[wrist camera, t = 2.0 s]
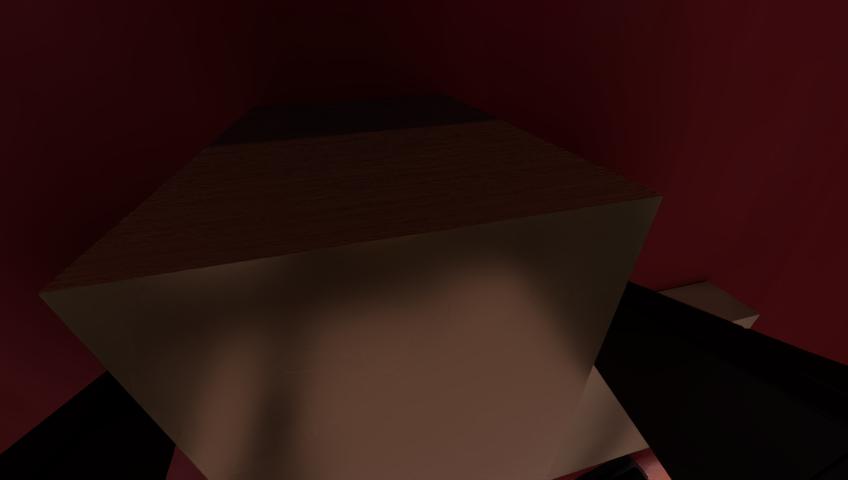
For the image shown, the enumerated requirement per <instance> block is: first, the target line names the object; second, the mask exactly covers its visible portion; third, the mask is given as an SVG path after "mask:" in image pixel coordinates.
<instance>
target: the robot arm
mask: <svg viewBox="0 0 848 480" xmlns="http://www.w3.org/2000/svg"><path fill="white" fill-rule="evenodd" d="M594 366H595V368H596V369H597V371H598V372H599V374H600V375H601V377H602V378H603V380H604V381H605V383H606V384H607V385H608V387H609V388H610V390H611V391H612V393H613V394H614V396H615V397H616V399H617V400H618V402H619V403H620V405H621V406H622V408H623V409H624V410H625V412H626V413H627V415H628V416H629V418H630V419H631V421H632V422H633V424H634V425H635V427H636V428H637V430H638V431H639V433H640V434H641V436H642V437H643V438H644V440H645V441H646V443H647V444H648V446H649V447H650V449H651V450H652V452H653V453H654V455H655V456H656V458H657V459H658V461H659V462H660V463H661V465H662V466H663V468H664V469H665V471H666V472H667V474H668V475H669V477H670V478H671V480H848V366H847V365H844V364H841V363H839V362H836V361H833V360H830V359H827V358H825V357H822V356H819V355H816V354H814V353H811V352H808V351H805V350H803V349H800V348H797V347H795V346H792V345H790V344H787V343H784V342H782V341H779V340H777V339H774V338H771V337H769V336H766V335H764V334H761V333H759V332H756V331H754V330H751V329H749V328H744V327H743V326H741V325H738V324H736V323H733V322H731V321H728V320H726V319H723V318H721V317H718V316H716V315H713V314H711V313H708V312H706V311H703V310H700V309H698V308H695V307H693V306H690V305H688V304H685V303H683V302H680V301H678V300H675V299H673V298H670V297H668V296H665V295H663V294H660V293H657V292H655V291H652V290H650V289H647V288H645V287H642V286H640V285H637V284H635V283H632V282H630V281H628V282H627V285H626V287H625V290H624V292H623V295H622V297H621V299H620V302H619V304H618V307H617V309H616V312H615V314H614V316H613V319H612V321H611V324H610V326H609V329H608V331H607V334H606V336H605V338H604V341H603V343H602V346H601V348H600V351H599V353H598V355H597V358H596V360H595V363H594ZM175 446H176V444H175V443H174V442H173V441H172V439H171V438H170V437H169V436H168V435H167V434H166V433H165V432H164V431H163V430H162V429H161V428H160V426H159V425H158V424H157V423H156V422H155V421H154V420H153V419H152V418H151V417H150V416H149V414H148V413H147V412H146V411H145V410H144V409H143V408H142V407H141V406H140V405H139V404H138V403H137V401H136V400H135V399H134V398H133V397H132V396H131V395H130V394H129V393H128V392H127V391H126V389H125V388H124V387H123V386H122V385H121V384H120V383H119V382H118V381H117V380H116V379H115V378H114V376H113V375H112V374H111V373H110V372H109V371H108V370H107V371H106V372H105V373H103V374H102V375H101V376H100V377H98V378H97V379H96V380H94V381H93V382H92V383H91V384H89V385H88V386H87V387H86V388H84V389H83V390H82V391H80V392H79V393H78V394H77V395H75V396H74V397H73V398H72V399H70V400H69V401H68V402H67V403H65V404H64V405H63V406H61V407H60V408H59V409H58V410H56V411H55V412H54V413H53V414H51V415H50V416H49V417H47V418H46V419H45V420H44V421H42V422H41V423H40V424H39V425H37V426H36V427H35V428H33V429H32V430H31V431H30V432H28V433H27V434H26V435H25V436H23V437H22V438H21V439H19V440H18V441H17V442H16V443H14V444H13V445H12V446H11V447H9V448H8V449H7V450H6V451H4V452H3V453H2V454H0V480H165V479H166V476H167V472H168V469H169V466H170V463H171V460H172V456H173V453H174V449H175Z"/></svg>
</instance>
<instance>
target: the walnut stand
mask: <svg viewBox="0 0 848 480" xmlns="http://www.w3.org/2000/svg"><path fill="white" fill-rule="evenodd" d="M657 293H660V294H663V295H665V296H668V297H670V298H673V299H675V300H678V301H680V302H683V303H685V304H688V305H690V306H693V307H695V308H698V309H700V310H703V311H706V312H708V313H711V314H713V315H716V316H718V317H721V318H723V319H726V320H728V321H731V322H733V323H736V324H738V325H741V326H743V327H744V328H750V327H751V325H752V324H753V323H754V321H755V320H756V319H757V318H758V316H759V315H760V314H758V313H757V312H755V311H754V310H752V309H751V308H749V307H747V306H746V305H744V304H743V303H741V302H740V301H738V300H736V299H735V298H733V297H732V296H730V295H729V294H727V293H726V292H724V291H722V290H721V289H719V288H718V287H716V286H715V285H713V284H711V283H710V282H708V281H705V282H700V283H696V284H691V285H687V286H682V287H678V288H673V289H669V290H664V291H660V292H657ZM648 447H649V446H648V444H647V443H646V441H645V440H644V438H643V437H642V436H641V434H640V433H639V431H638V430H637V428H636V427H635V425H634V424H633V422H632V421H631V419H630V418H629V416H628V415H627V413H626V412H625V410H624V409H623V408H622V406H621V405H620V403H619V402H618V400H617V399H616V397H615V396H614V394H613V393H612V391H611V390H610V388H609V387H608V385H607V384H606V383H605V381H604V380H603V378H602V377H601V375H600V374H599V372H598V371H597V369H596V368H595V366H594V365H593V368H592V370H591V373H590V375H589V377H588V380H587V382H586V385H585V387H584V390H583V392H582V394H581V397H580V399H579V402H578V404H577V407H576V409H575V411H574V414H573V416H572V419H571V421H570V424H569V426H568V429H567V431H566V433H565V436H564V438H563V441H562V443H561V446H560V448H559V450H558V453H557V455H556V458H555V460H554V463H553V465H552V468H551V470H550V472H549V475H548V477H547V480H551V479H554V478H557V477H560V476H563V475H566V474H569V473H572V472H576V471H579V470H582V469H585V468H588V467H591V466H594V465H597V464H600V463H603V462H606V461H609V460H612V459H615V458H618V457H621V456H624V455H627V454H630V453H633V452H636V451H639V450H642V449H645V448H648Z"/></svg>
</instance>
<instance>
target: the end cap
mask: <svg viewBox="0 0 848 480" xmlns="http://www.w3.org/2000/svg"><path fill="white" fill-rule="evenodd" d="M647 478H648V476H647V475H646V474H645V472H644V471H643V470H642V469H641V468H640V467H639V466H638V464H637V463H636V462H635V461H634V460H633V459H632V458H631V457H630V456H629V455H628V454H627V455H624V456H621V457H618V458H615V459H612V460H610V461H608V462H606V463H605V464H603V465H601V466H599V467H598V468H596V469H594V470H592V471H591V472H589V473H587V474H586V475H585V476H584V477H583V478H582V480H648V479H647Z"/></svg>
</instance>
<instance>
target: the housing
mask: <svg viewBox="0 0 848 480" xmlns="http://www.w3.org/2000/svg"><path fill="white" fill-rule="evenodd" d="M662 197H663V195H661V194H659V193H656V192H654V191H652V190H650V189H648V188H646V187H644V186H641V185H639V184H637V183H635V182H633V181H631V180H629V179H627V178H624V177H622V176H620V175H618V174H616V173H614V172H612V171H609V170H607V169H605V168H603V167H601V166H599V165H597V164H595V163H592V162H590V161H588V160H586V159H584V158H582V157H580V156H577V155H575V154H573V153H571V152H569V151H567V150H565V149H562V148H560V147H558V146H556V145H554V144H552V143H550V142H548V141H545V140H543V139H541V138H539V137H537V136H535V135H533V134H530V133H528V132H526V131H524V130H522V129H520V128H518V127H516V126H513V125H511V124H509V123H507V122H505V121H503V120H501V119H498V118H496V117H494V116H492V115H490V114H488V113H486V112H483V111H481V110H479V109H477V108H475V107H473V106H471V105H469V104H466V103H464V102H462V101H460V100H458V99H456V98H454V97H451V96H449V95H447V94H441V95H427V96H413V97H400V98H386V99H372V100H358V101H345V102H331V103H317V104H304V105H290V106H276V107H263V108H251V109H250V110H249V111H248V112H247V113H246V114H244V115H243V116H242V117H241V118H240V119H239V120H238V121H236V122H235V123H234V124H233V125H232V126H231V127H229V128H228V129H227V130H226V131H225V132H224V133H223V134H221V135H220V136H219V137H218V138H217V139H216V140H214V141H213V142H212V143H211V144H210V145H209V146H207V147H206V148H205V149H204V150H203V151H202V152H201V153H199V154H198V155H197V156H196V157H195V158H194V159H192V160H191V161H190V162H189V163H188V164H187V165H185V166H184V167H183V168H182V169H181V170H180V171H179V172H177V173H176V174H175V175H174V176H173V177H172V178H170V179H169V180H168V181H167V182H166V183H165V184H164V185H162V186H161V187H160V188H159V189H158V190H157V191H155V192H154V193H153V194H152V195H151V196H150V197H148V198H147V199H146V200H145V201H144V202H143V203H142V204H140V205H139V206H138V207H137V208H136V209H135V210H133V211H132V212H131V213H130V214H129V215H128V216H126V217H125V218H124V219H123V220H122V221H121V222H120V223H118V224H117V225H116V226H115V227H114V228H113V229H111V230H110V231H109V232H108V233H107V234H106V235H105V236H103V237H102V238H101V239H100V240H99V241H98V242H96V243H95V244H94V245H93V246H92V247H91V248H89V249H88V250H87V251H86V252H85V253H84V254H83V255H81V256H80V257H79V258H78V259H77V260H76V261H74V262H73V263H72V264H71V265H70V266H69V267H67V268H66V269H65V270H64V271H63V272H62V273H61V274H59V275H58V276H57V277H56V278H55V279H54V280H52V281H51V282H50V283H49V284H48V285H47V286H46V287H44V288H43V289H42V290H41V291H40V292H39V293H37V294H38V295H39V296H40V297H41V298H42V299H43V300H44V301H45V303H46V304H47V305H48V306H49V307H50V308H51V309H52V310H53V311H54V312H55V313H56V315H57V316H58V317H59V318H60V319H61V320H62V321H63V322H64V323H65V324H66V325H67V326H68V328H69V329H70V330H71V331H72V332H73V333H74V334H75V335H76V336H77V337H78V338H79V340H80V341H81V342H82V343H83V344H84V345H85V346H86V347H87V348H88V349H89V350H90V351H91V353H92V354H93V355H94V356H95V357H96V358H97V359H98V360H99V361H100V362H101V363H102V365H103V366H104V367H105V368H106V369H107V370H108V371H109V372H110V373H111V374H112V375H113V376H114V378H115V379H116V380H117V381H118V382H119V383H120V384H121V385H122V386H123V387H124V388H125V389H126V391H127V392H128V393H129V394H130V395H131V396H132V397H133V398H134V399H135V400H136V401H137V403H138V404H139V405H140V406H141V407H142V408H143V409H144V410H145V411H146V412H147V413H148V414H149V416H150V417H151V418H152V419H153V420H154V421H155V422H156V423H157V424H158V425H159V426H160V428H161V429H162V430H163V431H164V432H165V433H166V434H167V435H168V436H169V437H170V438H171V439H172V441H173V442H174V443H175V444H176V445H177V446H178V447H179V448H180V449H181V450H182V451H183V453H184V454H185V455H186V456H187V457H188V458H189V459H190V460H191V461H192V462H193V463H194V464H195V466H196V467H197V468H198V469H199V470H200V471H201V472H202V473H203V474H204V475H205V476H206V477H207V479H208V480H547V477H548V475H549V472H550V470H551V468H552V465H553V463H554V460H555V458H556V455H557V453H558V450H559V448H560V446H561V443H562V441H563V438H564V436H565V433H566V431H567V429H568V426H569V424H570V421H571V419H572V416H573V414H574V411H575V409H576V407H577V404H578V402H579V399H580V397H581V394H582V392H583V390H584V387H585V385H586V382H587V380H588V377H589V375H590V373H591V370H592V368H593V365H594V363H595V360H596V358H597V355H598V353H599V351H600V348H601V346H602V343H603V341H604V338H605V336H606V334H607V331H608V329H609V326H610V324H611V321H612V319H613V316H614V314H615V312H616V309H617V307H618V304H619V302H620V299H621V297H622V295H623V292H624V290H625V287H626V285H627V282H628V280H629V277H630V275H631V273H632V270H633V268H634V265H635V263H636V260H637V258H638V256H639V253H640V251H641V248H642V246H643V243H644V241H645V238H646V236H647V234H648V231H649V229H650V226H651V224H652V221H653V219H654V217H655V214H656V212H657V209H658V207H659V204H660V202H661V200H662Z"/></svg>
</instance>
